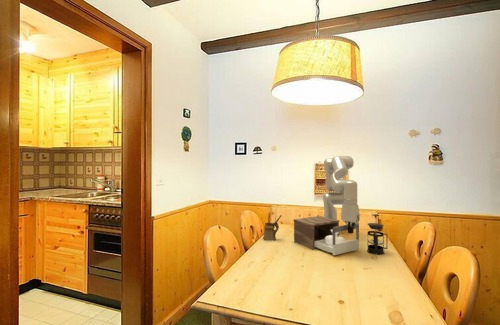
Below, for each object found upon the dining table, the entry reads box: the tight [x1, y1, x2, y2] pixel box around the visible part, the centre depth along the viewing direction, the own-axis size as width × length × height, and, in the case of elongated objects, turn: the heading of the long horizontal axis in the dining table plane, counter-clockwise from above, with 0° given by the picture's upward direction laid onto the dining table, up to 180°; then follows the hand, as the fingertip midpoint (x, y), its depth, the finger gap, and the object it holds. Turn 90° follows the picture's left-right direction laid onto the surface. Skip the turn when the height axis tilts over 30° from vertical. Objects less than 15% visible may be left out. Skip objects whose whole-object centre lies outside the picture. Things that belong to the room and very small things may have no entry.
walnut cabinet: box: [293, 215, 340, 250], centre depth 181 cm, size 25×18×16 cm
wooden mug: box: [262, 214, 282, 241], centre depth 189 cm, size 9×14×18 cm, turn 72°
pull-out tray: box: [314, 223, 360, 256], centre depth 167 cm, size 22×18×16 cm
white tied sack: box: [325, 230, 346, 246], centre depth 168 cm, size 12×8×11 cm
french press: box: [366, 213, 388, 256], centre depth 161 cm, size 12×9×23 cm
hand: (350, 233), depth 157 cm, fingers closed
